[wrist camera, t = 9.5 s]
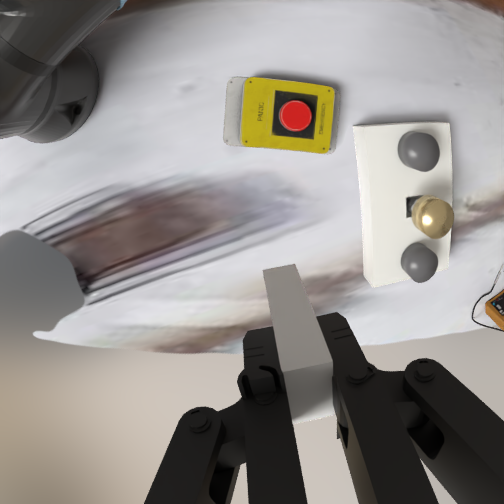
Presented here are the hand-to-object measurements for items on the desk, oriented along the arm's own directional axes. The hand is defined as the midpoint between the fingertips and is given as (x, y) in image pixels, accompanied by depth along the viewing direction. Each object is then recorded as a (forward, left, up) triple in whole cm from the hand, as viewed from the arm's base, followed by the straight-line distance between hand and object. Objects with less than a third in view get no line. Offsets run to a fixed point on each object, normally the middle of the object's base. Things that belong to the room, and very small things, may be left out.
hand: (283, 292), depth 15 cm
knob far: (+14, +22, -29) cm, 39 cm away
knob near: (-2, +22, -29) cm, 37 cm away
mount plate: (+6, +22, -29) cm, 37 cm away
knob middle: (+6, +22, -26) cm, 35 cm away
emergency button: (-8, +6, -30) cm, 32 cm away
